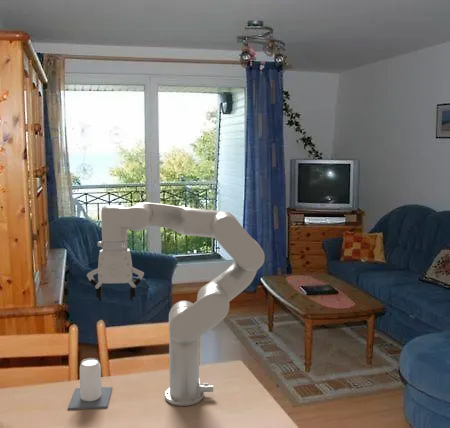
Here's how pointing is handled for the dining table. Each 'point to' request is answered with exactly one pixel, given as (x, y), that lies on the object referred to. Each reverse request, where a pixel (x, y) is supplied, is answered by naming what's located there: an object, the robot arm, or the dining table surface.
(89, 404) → the mat
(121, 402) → the dining table surface
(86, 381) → the can
